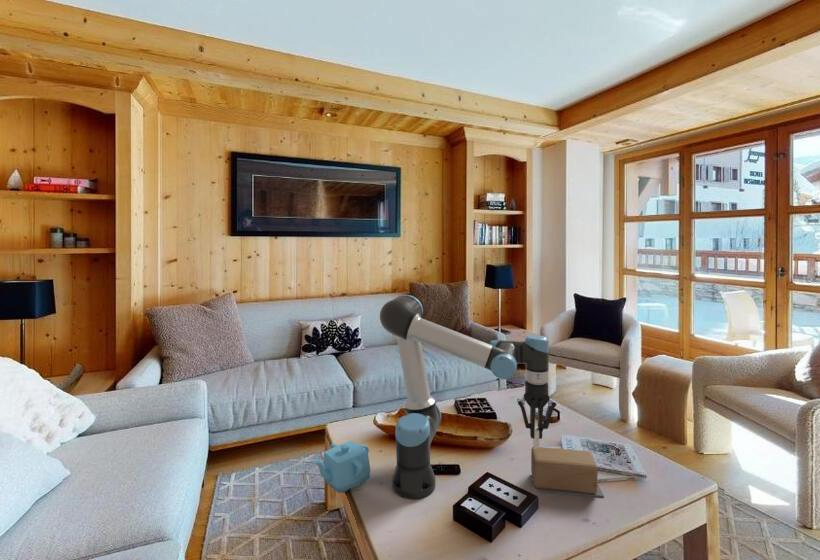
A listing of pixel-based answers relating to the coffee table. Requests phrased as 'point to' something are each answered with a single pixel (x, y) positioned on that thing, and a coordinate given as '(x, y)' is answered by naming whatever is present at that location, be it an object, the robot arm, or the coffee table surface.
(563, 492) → the mat
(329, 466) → the teapot
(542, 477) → the wooden block
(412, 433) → the robot arm
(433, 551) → the coffee table surface
